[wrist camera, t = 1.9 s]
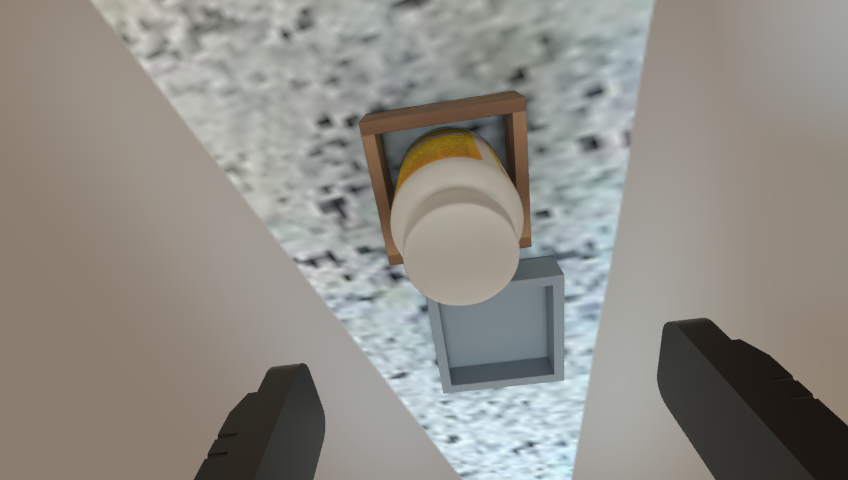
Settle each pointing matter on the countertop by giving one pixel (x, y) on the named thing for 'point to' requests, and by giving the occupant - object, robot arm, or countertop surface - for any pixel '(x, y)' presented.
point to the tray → (504, 332)
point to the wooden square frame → (441, 114)
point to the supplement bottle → (456, 218)
